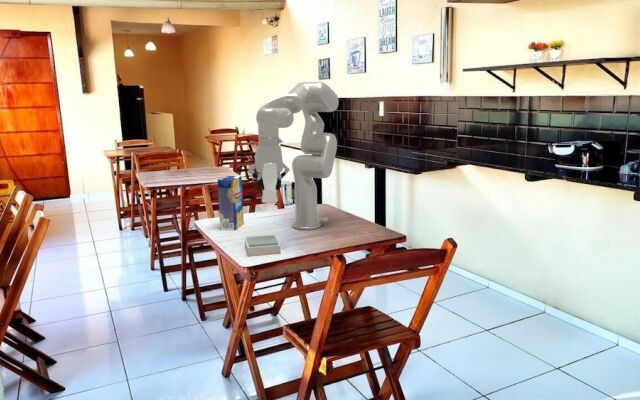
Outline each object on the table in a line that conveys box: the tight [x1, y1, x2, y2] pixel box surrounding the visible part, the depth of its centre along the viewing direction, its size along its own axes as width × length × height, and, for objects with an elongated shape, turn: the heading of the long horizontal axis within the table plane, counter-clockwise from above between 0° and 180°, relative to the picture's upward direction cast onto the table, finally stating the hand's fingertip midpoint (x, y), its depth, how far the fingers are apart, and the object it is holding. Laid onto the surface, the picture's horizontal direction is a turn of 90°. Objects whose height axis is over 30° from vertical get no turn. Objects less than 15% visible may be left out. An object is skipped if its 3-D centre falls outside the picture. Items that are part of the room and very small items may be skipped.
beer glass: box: [261, 163, 279, 204], centre depth 198 cm, size 7×7×15 cm
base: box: [244, 234, 282, 257], centre depth 198 cm, size 12×12×4 cm
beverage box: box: [217, 175, 245, 231], centre depth 231 cm, size 7×11×22 cm, turn 168°
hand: (269, 189), depth 198 cm, fingers closed on beer glass, 6 cm apart
